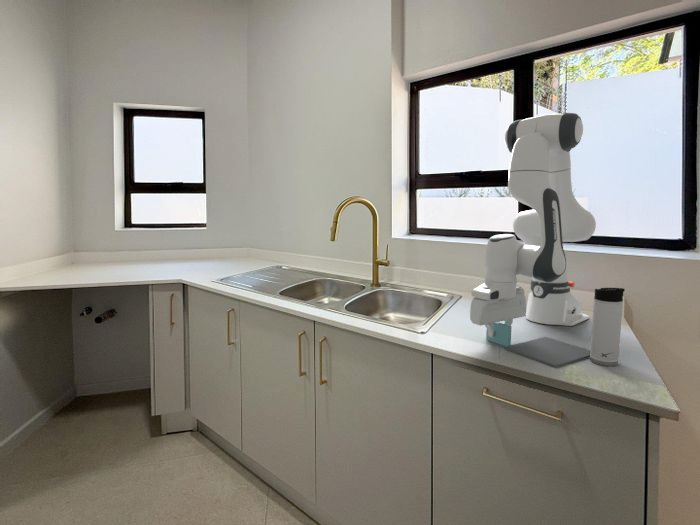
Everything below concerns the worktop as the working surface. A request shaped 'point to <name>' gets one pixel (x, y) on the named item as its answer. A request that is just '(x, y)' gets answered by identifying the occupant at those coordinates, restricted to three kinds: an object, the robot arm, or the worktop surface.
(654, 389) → the worktop surface
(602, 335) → the travel mug
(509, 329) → the block
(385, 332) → the worktop surface
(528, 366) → the worktop surface
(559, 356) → the mat
